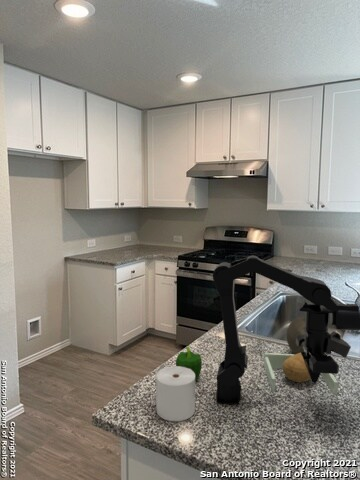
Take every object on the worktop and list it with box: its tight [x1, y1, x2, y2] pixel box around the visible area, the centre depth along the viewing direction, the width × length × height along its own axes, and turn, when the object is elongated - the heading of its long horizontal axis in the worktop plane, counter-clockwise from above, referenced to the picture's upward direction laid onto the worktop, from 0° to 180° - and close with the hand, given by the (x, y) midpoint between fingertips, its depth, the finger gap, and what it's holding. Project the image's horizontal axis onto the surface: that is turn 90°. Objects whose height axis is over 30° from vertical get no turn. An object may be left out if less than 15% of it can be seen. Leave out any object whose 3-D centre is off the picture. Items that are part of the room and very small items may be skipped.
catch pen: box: [263, 352, 339, 396], centre depth 110 cm, size 19×16×5 cm
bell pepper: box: [175, 346, 203, 382], centre depth 110 cm, size 8×8×10 cm
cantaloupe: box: [286, 315, 306, 354], centre depth 127 cm, size 14×14×15 cm
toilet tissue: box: [155, 362, 196, 422], centre depth 94 cm, size 11×12×10 cm
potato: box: [281, 353, 311, 383], centre depth 111 cm, size 10×14×8 cm
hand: (314, 382), depth 94 cm, fingers closed
